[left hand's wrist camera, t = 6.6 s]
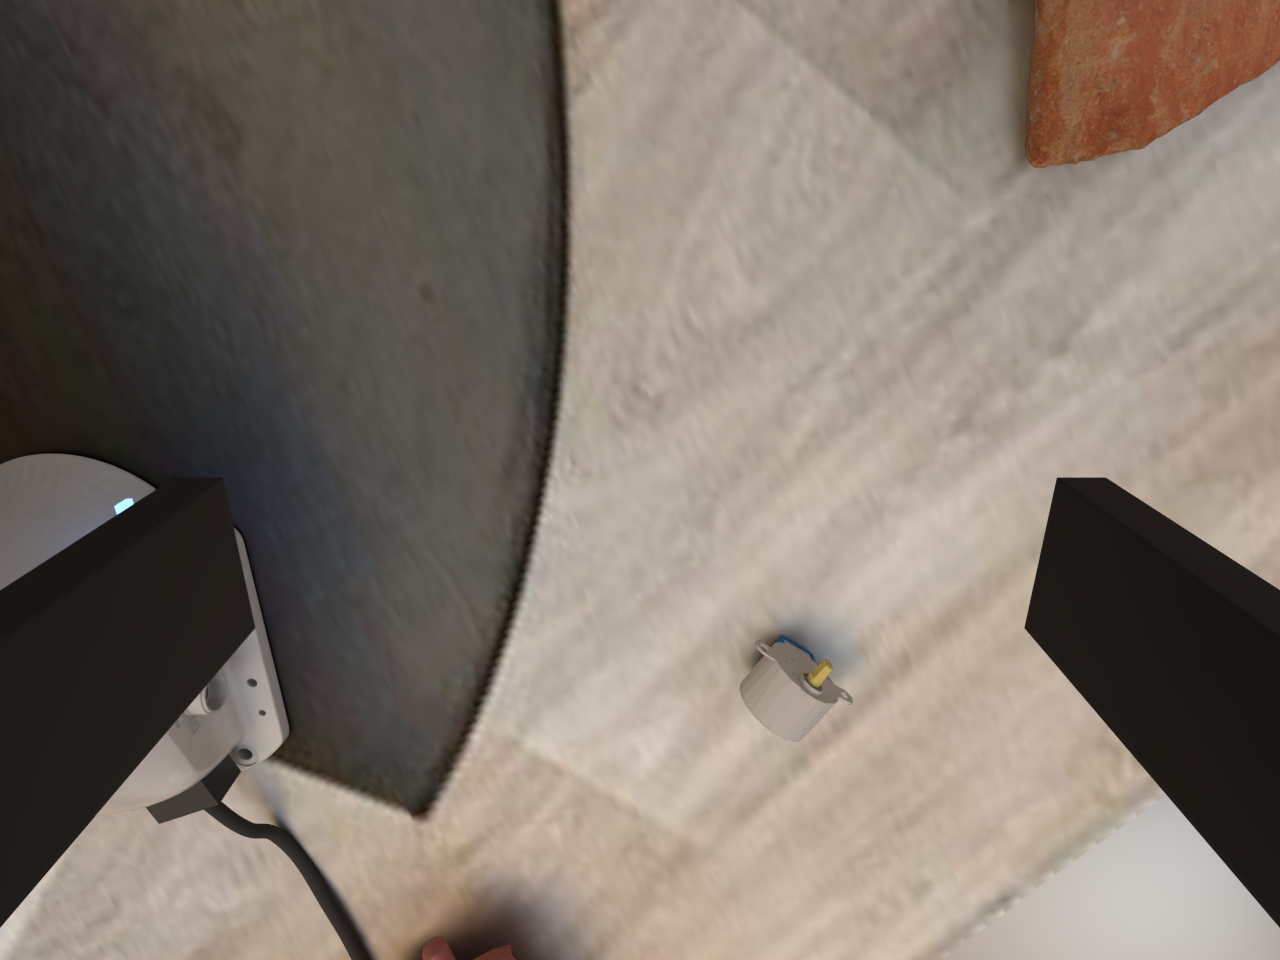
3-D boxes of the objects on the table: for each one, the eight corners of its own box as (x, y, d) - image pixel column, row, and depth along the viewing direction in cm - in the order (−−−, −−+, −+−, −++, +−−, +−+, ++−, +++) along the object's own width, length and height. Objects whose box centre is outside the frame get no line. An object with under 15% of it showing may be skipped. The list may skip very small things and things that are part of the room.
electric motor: (858, 652, 46) (883, 706, 41) (808, 706, 47) (827, 764, 43) (766, 596, 44) (781, 646, 40) (718, 654, 46) (727, 708, 41)
